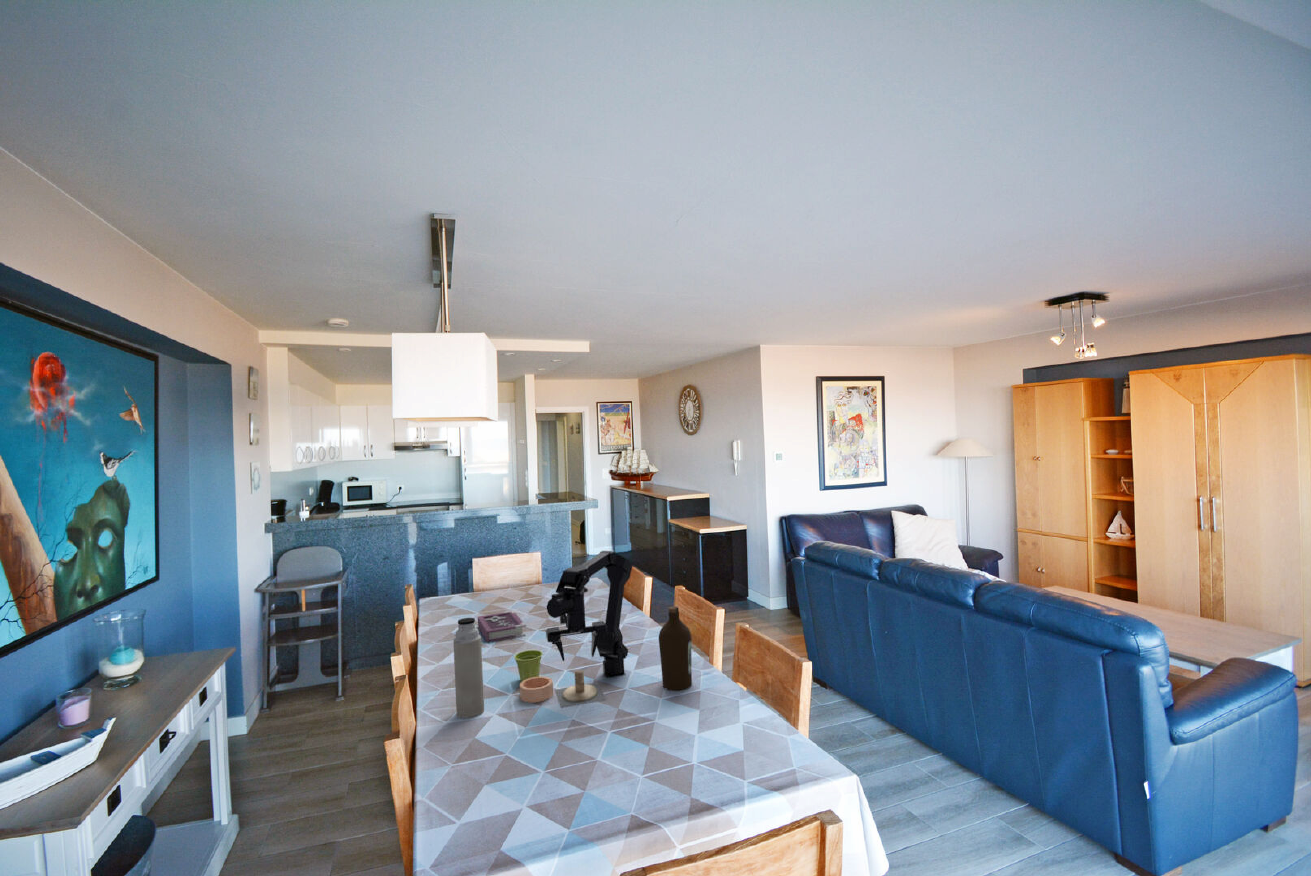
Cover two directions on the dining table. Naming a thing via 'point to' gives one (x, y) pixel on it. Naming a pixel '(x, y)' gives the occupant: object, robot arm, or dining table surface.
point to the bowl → (536, 689)
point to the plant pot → (528, 663)
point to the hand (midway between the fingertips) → (578, 658)
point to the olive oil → (675, 653)
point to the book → (501, 626)
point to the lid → (579, 689)
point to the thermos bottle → (468, 670)
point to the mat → (566, 703)
